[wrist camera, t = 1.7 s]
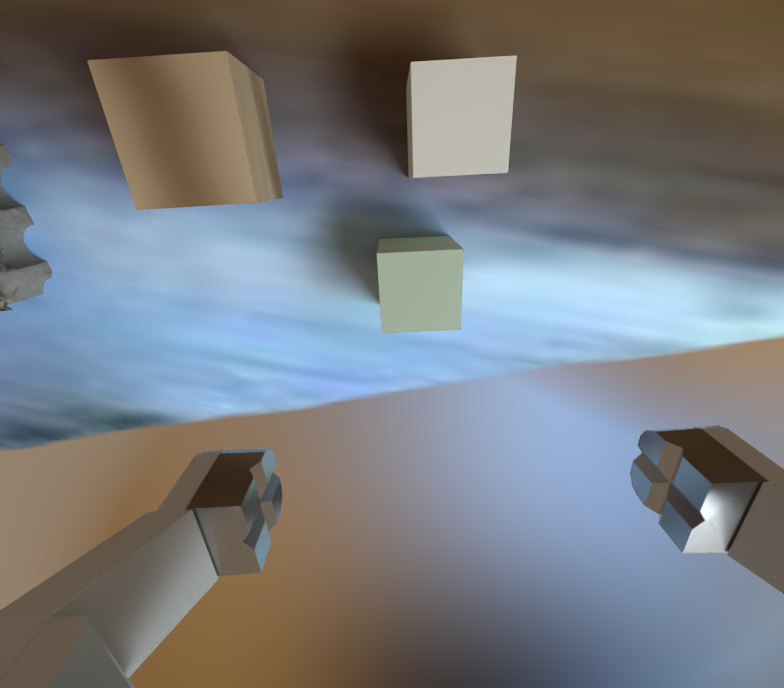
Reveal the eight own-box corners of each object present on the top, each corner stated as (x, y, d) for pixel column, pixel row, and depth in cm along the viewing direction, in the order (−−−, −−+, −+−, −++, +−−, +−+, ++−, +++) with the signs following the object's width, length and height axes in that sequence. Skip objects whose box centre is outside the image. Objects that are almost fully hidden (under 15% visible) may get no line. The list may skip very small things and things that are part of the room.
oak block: (263, 79, 20) (226, 50, 15) (283, 197, 22) (256, 202, 18) (156, 86, 20) (87, 60, 15) (187, 203, 22) (136, 209, 18)
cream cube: (487, 83, 20) (516, 55, 15) (483, 173, 22) (507, 172, 17) (405, 88, 20) (410, 61, 15) (408, 177, 22) (413, 177, 17)
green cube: (449, 235, 23) (463, 249, 19) (448, 302, 25) (460, 329, 21) (379, 238, 23) (376, 253, 19) (383, 305, 25) (381, 333, 21)
